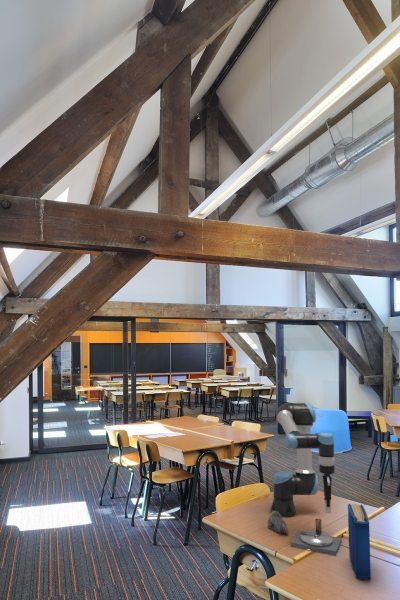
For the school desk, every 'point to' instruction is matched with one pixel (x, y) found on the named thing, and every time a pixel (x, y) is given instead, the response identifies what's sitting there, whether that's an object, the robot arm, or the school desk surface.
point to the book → (359, 541)
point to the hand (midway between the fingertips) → (328, 512)
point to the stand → (329, 549)
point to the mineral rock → (277, 522)
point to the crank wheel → (316, 536)
